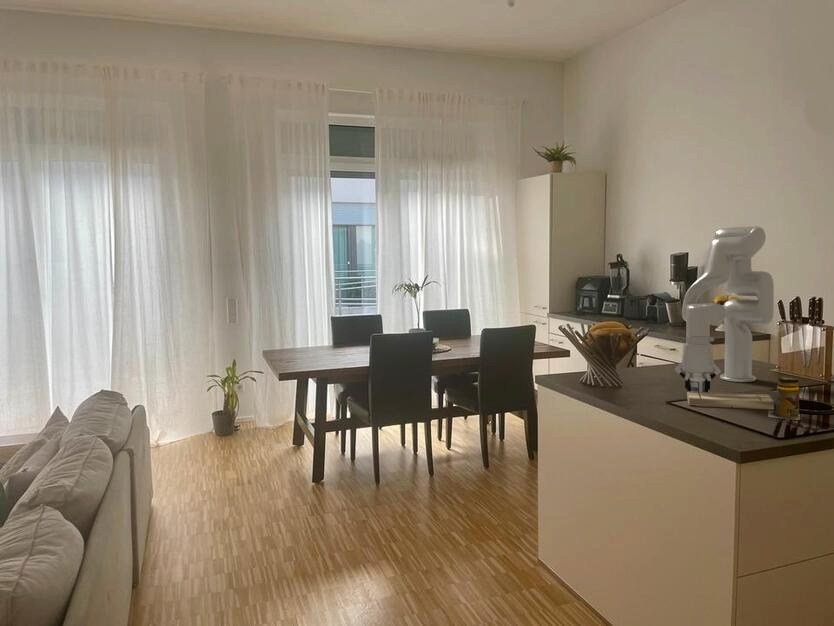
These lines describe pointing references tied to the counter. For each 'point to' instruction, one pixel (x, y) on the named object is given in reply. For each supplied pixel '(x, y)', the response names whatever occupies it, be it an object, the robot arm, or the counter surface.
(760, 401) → the plank
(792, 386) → the condiment
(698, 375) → the pill bottle
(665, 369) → the counter surface
